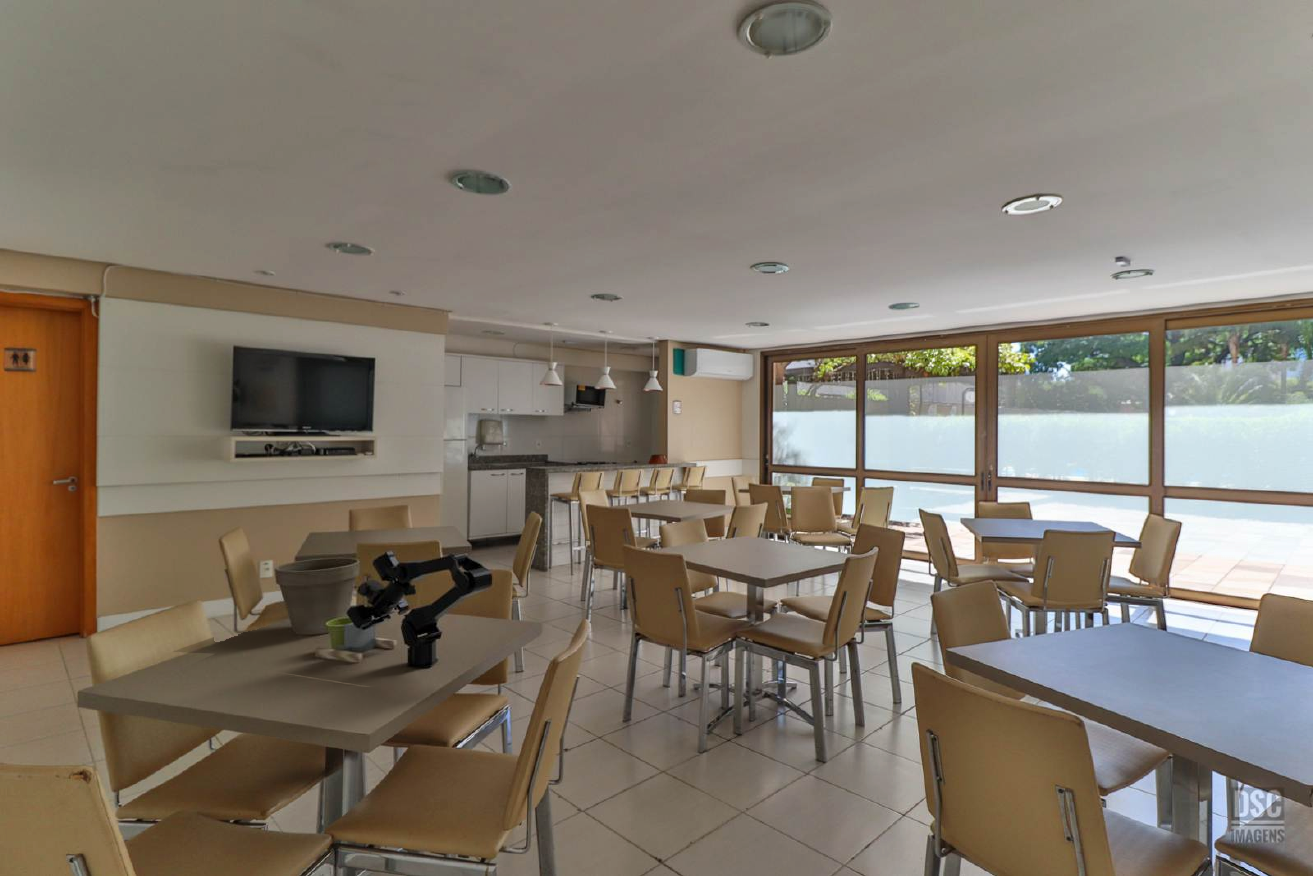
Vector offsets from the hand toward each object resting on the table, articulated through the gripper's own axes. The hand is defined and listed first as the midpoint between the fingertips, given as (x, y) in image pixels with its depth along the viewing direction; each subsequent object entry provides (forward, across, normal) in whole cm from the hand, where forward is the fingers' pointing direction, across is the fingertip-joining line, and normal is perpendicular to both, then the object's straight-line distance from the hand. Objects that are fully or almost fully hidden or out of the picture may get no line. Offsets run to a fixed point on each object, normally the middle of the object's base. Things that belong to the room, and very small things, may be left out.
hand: (363, 628), depth 190 cm
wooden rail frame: (+7, 0, +4) cm, 8 cm away
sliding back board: (+6, 0, +3) cm, 7 cm away
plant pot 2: (+10, 0, 0) cm, 10 cm away
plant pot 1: (+30, -15, -19) cm, 38 cm away
